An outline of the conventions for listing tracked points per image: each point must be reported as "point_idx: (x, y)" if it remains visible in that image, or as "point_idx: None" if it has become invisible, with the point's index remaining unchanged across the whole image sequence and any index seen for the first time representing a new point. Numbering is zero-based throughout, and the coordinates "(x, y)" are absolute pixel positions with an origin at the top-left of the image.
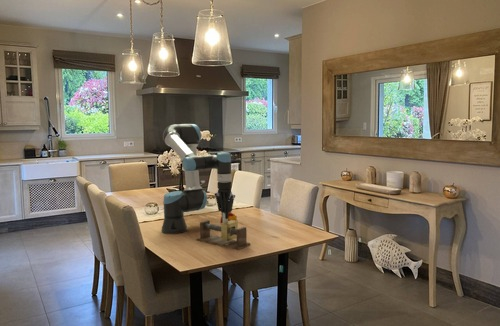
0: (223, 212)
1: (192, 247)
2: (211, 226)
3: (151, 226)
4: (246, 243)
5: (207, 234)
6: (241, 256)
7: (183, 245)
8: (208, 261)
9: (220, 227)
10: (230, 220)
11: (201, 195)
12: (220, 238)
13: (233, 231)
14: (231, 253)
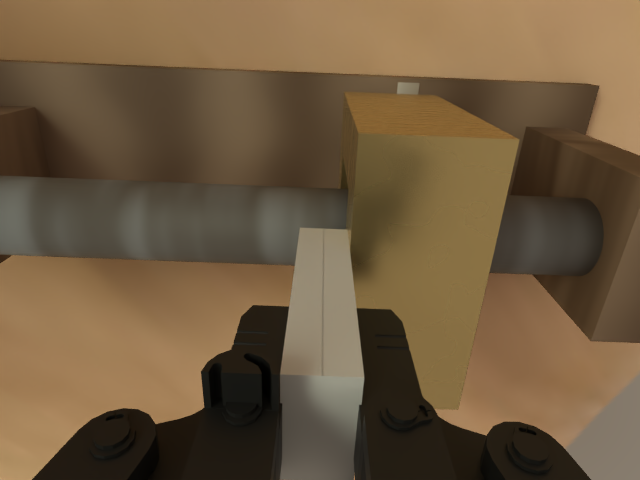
0: (283, 457)
1: (164, 384)
2: (82, 257)
3: None
4: (567, 130)
5: (29, 156)
6: (615, 360)
7: (70, 383)
8: None
9: (247, 261)
10: (354, 173)
11: None
12: (207, 126)
13: (489, 272)
14: (513, 347)
